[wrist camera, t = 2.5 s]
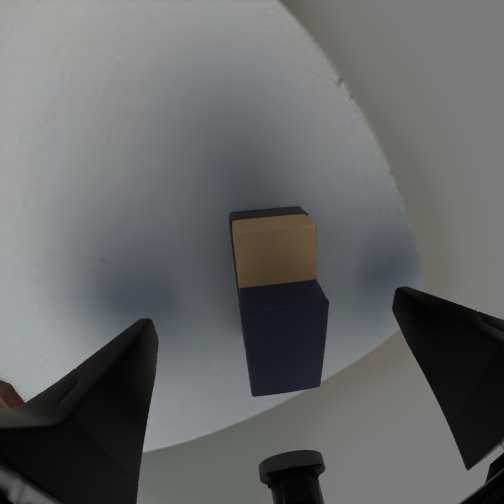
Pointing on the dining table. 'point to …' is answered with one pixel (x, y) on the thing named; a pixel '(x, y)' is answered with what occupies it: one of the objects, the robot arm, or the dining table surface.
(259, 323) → the stacked boxes
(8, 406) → the tray
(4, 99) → the dining table surface
